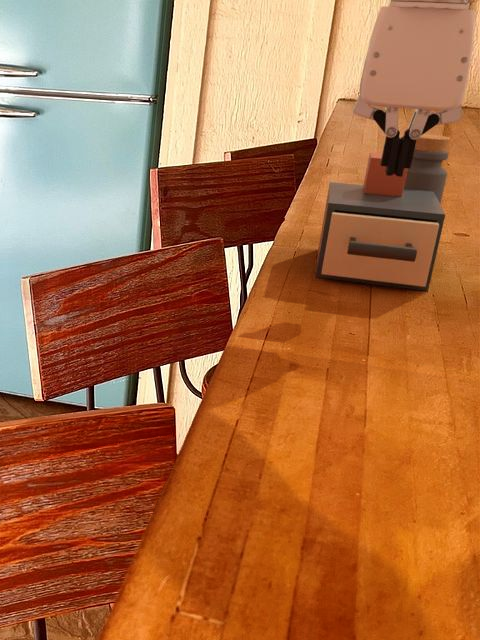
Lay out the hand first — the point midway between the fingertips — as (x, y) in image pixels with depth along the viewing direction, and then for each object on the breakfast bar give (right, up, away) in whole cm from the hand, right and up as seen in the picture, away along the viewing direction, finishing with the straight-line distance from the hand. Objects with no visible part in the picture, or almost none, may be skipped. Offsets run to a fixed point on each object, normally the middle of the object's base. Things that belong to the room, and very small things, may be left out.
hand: (393, 173), depth 97 cm
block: (+5, +1, +14) cm, 15 cm away
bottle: (+14, -5, +26) cm, 30 cm away
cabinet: (+3, -9, +15) cm, 17 cm away
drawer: (+2, -10, +10) cm, 14 cm away
